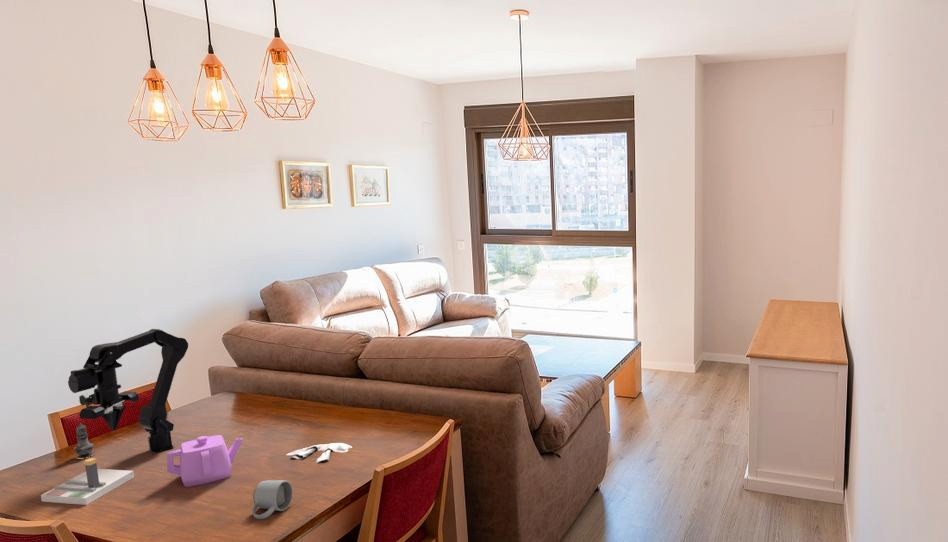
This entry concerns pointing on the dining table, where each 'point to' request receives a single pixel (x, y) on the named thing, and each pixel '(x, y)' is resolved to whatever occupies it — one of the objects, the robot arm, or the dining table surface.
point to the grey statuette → (83, 443)
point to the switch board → (86, 487)
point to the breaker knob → (92, 472)
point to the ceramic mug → (272, 497)
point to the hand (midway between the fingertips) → (113, 430)
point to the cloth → (325, 456)
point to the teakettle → (203, 460)
